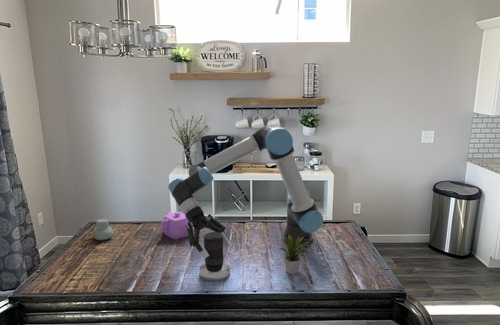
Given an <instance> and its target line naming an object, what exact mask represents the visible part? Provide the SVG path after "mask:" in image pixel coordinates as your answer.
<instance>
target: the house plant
mask: <svg viewBox="0 0 500 325" xmlns="http://www.w3.org/2000/svg"><path fill="white" fill-rule="evenodd" d="M299 237H300V236H299ZM299 237H298V239H297V240H296V242H295V243H294V244H293V239H292V236H291V237H290V235H289V236H288V240H289V242H287V241H285V240H284V239H283V238H281V241H283V243H282V246H284V247H279V248H278V249H279V250H281V251H284V252H285V253H284V264H285V270H286V273H288V274H289V275H296V274H297V273H298V272H299V269H300V264H301V260H302V259H301V257H302V258H303V259H304V254H303V253H307V251H306V250H307V248H304V246H308V245H309V246H310V244H309V243H311V242H306V244H305V243H303V244H300V242H301V240H302V239H303V237H302V238H301V239H299ZM298 240H299V241H298ZM300 256H301V257H300Z"/></svg>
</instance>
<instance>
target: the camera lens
mask: <svg viewBox="0 0 500 325" xmlns="http://www.w3.org/2000/svg"><path fill="white" fill-rule="evenodd" d="M203 246H204V248H205V249H206V251H207V253H208V254H209V256H208V257H207V258H206V259H204V263H205V265H206V268H207V270H208V271H211V272H217V271H220V270H221V269H222V266H223V262H224V243H223V235H222V234H221V233H219V232H215V231H211V232H208V233H205V234H204V237H203Z"/></svg>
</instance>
